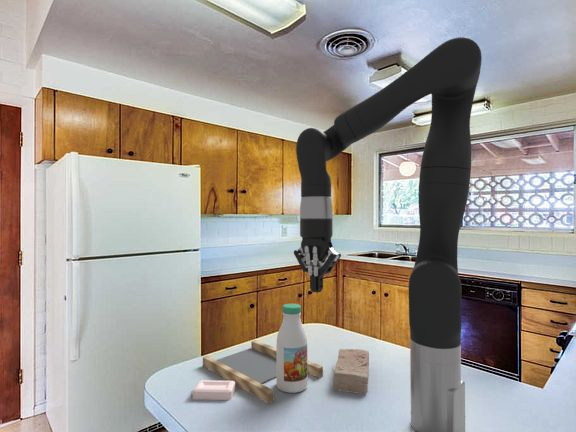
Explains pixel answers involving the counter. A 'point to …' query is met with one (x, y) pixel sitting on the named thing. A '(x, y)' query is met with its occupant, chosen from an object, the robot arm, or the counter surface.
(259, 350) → the rails
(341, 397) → the counter surface
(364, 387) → the brick
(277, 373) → the milk bottle
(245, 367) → the mat
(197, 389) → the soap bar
